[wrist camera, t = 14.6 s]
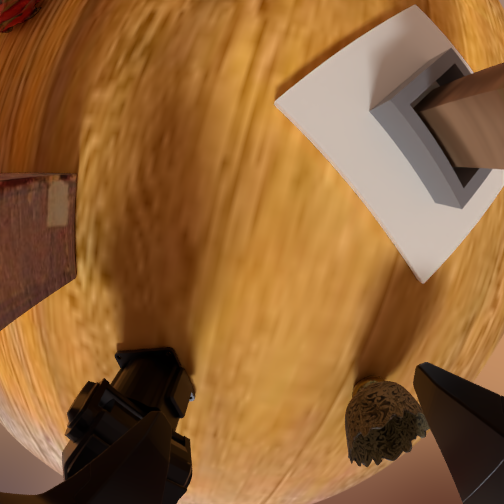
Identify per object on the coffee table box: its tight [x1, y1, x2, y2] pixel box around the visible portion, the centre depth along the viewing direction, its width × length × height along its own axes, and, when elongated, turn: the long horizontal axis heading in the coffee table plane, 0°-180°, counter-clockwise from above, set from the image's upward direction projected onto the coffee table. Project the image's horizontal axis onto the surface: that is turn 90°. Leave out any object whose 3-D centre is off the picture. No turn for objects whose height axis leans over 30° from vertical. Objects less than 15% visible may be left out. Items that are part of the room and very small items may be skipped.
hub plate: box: [274, 5, 504, 284], centre depth 15 cm, size 18×18×4 cm
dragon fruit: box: [0, 0, 42, 33], centre depth 9 cm, size 8×8×12 cm
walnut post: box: [413, 63, 504, 170], centre depth 10 cm, size 5×5×13 cm
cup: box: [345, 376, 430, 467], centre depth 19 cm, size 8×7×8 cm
